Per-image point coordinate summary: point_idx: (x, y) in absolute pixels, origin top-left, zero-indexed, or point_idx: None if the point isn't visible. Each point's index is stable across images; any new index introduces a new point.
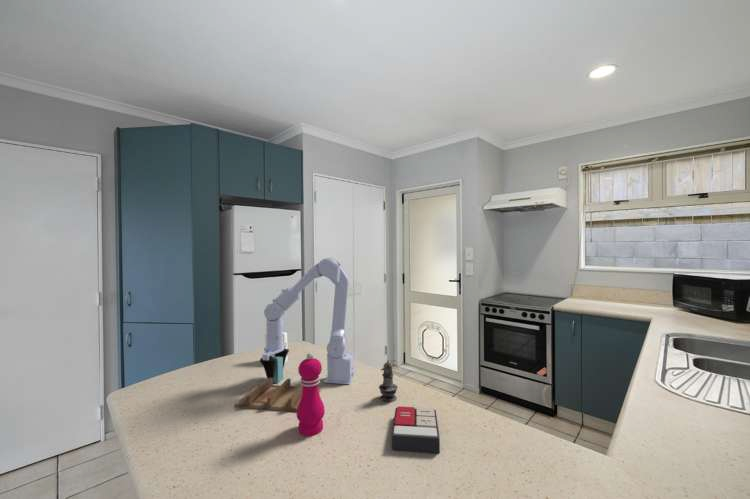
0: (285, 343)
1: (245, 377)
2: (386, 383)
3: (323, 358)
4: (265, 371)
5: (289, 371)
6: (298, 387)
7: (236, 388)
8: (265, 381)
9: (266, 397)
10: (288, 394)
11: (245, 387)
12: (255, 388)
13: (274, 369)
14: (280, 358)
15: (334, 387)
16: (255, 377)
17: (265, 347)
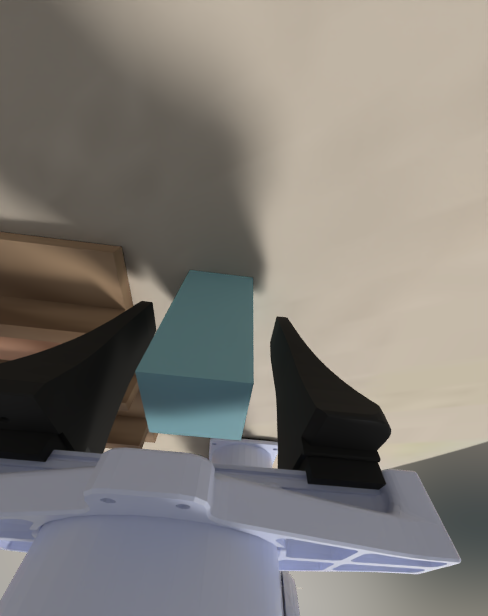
0: (384, 568)
1: (273, 19)
2: None
3: (470, 413)
4: (109, 322)
5: (341, 329)
6: (140, 402)
7: (41, 67)
8: (48, 331)
9: (3, 339)
10: None
11: (88, 149)
12: (56, 254)
13: (132, 375)
14: (203, 435)
15: (188, 450)
16: (268, 145)
17: (170, 498)
